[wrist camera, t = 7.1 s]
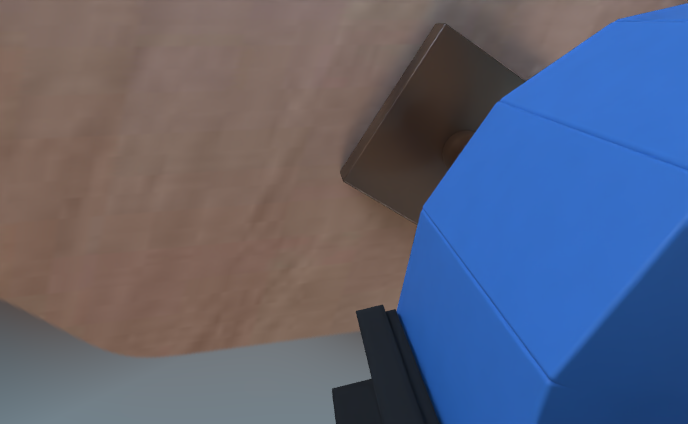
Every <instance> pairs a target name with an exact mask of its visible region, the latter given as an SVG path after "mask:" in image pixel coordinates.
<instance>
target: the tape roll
mask: <svg viewBox="0 0 688 424" xmlns="http://www.w3.org/2000/svg"><path fill="white" fill-rule="evenodd" d="M397 314H398V317H399V319H400V322H401V325H402V327H403V330H404V332H405V335H406V338H407V340H408V343H409V345H410V348H411V351H412V353H413V356H414V358H415V361H416V364H417V366H418V369H419V371H420V374H421V377H422V379H423V382H424V384H425V387H426V390H427V392H428V395H429V397H430V400H431V403H432V405H433V408H434V410H435V413H436V416H437V418H438V421H439V423H440V424H688V3H687V4H682V5H678V6H674V7H669V8H665V9H661V10H656V11H652V12H648V13H643V14H639V15H635V16H630V17H626V18H622V19H618V20H616V21H615V22H613V23H610V24H609V25H608V26H606V27H605V28H603V29H602V30H600V31H599V32H597V33H596V34H594V35H593V36H592V37H590V38H589V39H587V40H586V41H584V42H583V43H581V44H580V45H578V46H577V47H576V48H574V49H573V50H571V51H570V52H568V53H567V54H565V55H564V56H562V57H561V58H560V59H558V60H557V61H555V62H554V63H552V64H551V65H549V66H548V67H546V68H545V69H544V70H542V71H541V72H539V73H538V74H536V75H535V76H533V77H532V78H530V79H529V80H528V81H526V82H525V83H523V84H522V85H520V86H519V87H517V88H516V89H514V90H513V91H512V92H510V93H509V94H507V95H506V96H504V97H503V98H502V99H501V100H500V102H499V101H498V102H497V103H496V104H495V105H494V107H493V108H492V109H491V111H490V112H489V114H488V115H487V117H486V118H485V119H484V121H483V122H482V124H481V125H480V126H479V128H478V129H477V131H476V132H475V133H474V135H473V136H472V138H471V139H470V141H469V142H468V143H467V145H466V146H465V148H464V149H463V150H462V152H461V153H460V155H459V156H458V157H457V159H456V160H455V162H454V163H453V165H452V166H451V167H450V169H449V170H448V172H447V173H446V174H445V176H444V177H443V179H442V180H441V181H440V183H439V184H438V186H437V187H436V188H435V190H434V191H433V193H432V194H431V196H430V197H429V198H428V200H427V201H426V203H425V204H424V205H423V209H422V211H421V213H420V217H419V221H418V225H417V230H416V234H415V238H414V242H413V246H412V250H411V254H410V258H409V263H408V267H407V271H406V275H405V279H404V283H403V287H402V291H401V296H400V300H399V304H398V308H397Z"/></svg>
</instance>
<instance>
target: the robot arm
mask: <svg viewBox="0 0 688 424" xmlns="http://www.w3.org/2000/svg"><path fill="white" fill-rule="evenodd" d="M356 314H357V318H358V322H359V327H360V331H361V335H362V339H363V344H364V348H365V352H366V356H367V360H368V365H369V368H370V373H371V377H372V379H369V380H365V381H361V382H357V383H353V384H349V385H345V386H341V387H337V388H333V389H332V393H333V403H334V411H335V419H336V424H440V423H439V421H438V418H437V416H436V413H435V410H434V408H433V405H432V403H431V400H430V397H429V395H428V392H427V390H426V387H425V384H424V382H423V379H422V377H421V374H420V371H419V369H418V366H417V364H416V361H415V358H414V356H413V353H412V351H411V348H410V345H409V343H408V340H407V338H406V335H405V332H404V330H403V327H402V325H401V322H400V319H399V317H398V314H397V312H396V310H395V309H394V310H390V311H386V312H385V309H384V306H383V305H379V306H375V307H371V308H367V309H363V310H358V311H356Z"/></svg>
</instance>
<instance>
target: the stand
mask: <svg viewBox="0 0 688 424" xmlns="http://www.w3.org/2000/svg"><path fill="white" fill-rule="evenodd" d="M525 82H526V81H524V80H523V79H521V78H520V77H519V76H517V75H516V74H515V73H513V72H512V71H510V70H509V69H508V68H506V67H505V66H504V65H502V64H501V63H499V62H498V61H497V60H495V59H494V58H493V57H491V56H490V55H488V54H487V53H486V52H484V51H483V50H482V49H480V48H479V47H477V46H476V45H475V44H473V43H472V42H471V41H469V40H468V39H466V38H465V37H464V36H462V35H461V34H460V33H458V32H457V31H455V30H454V29H453V28H451V27H450V26H449V25H447V24H435V26H434V27H433V29H432V30H431V32H430V34H429V35H428V37H427V38H426V40H425V41H424V43H423V44H422V46H421V47H420V49H419V51H418V52H417V54H416V55H415V57H414V58H413V60H412V61H411V63H410V65H409V66H408V68H407V69H406V71H405V72H404V74H403V75H402V77H401V78H400V80H399V82H398V83H397V85H396V86H395V88H394V89H393V91H392V92H391V94H390V95H389V97H388V99H387V100H386V102H385V103H384V105H383V106H382V108H381V109H380V111H379V112H378V114H377V116H376V117H375V119H374V120H373V122H372V123H371V125H370V126H369V128H368V129H367V131H366V133H365V134H364V136H363V137H362V139H361V140H360V142H359V143H358V145H357V147H356V148H355V150H354V151H353V153H352V154H351V156H350V157H349V159H348V160H347V162H346V164H345V165H344V167H343V168H342V170H341V171H340V174H341V177H342V179H343V181H344V182H345V183H347V184H349V185H350V186H352V187H354V188H355V189H357V190H359V191H360V192H362V193H364V194H366V195H367V196H369V197H371V198H372V199H374V200H376V201H377V202H379V203H381V204H383V205H384V206H386V207H388V208H389V209H391V210H393V211H394V212H396V213H398V214H399V215H401V216H403V217H405V218H406V219H408V220H410V221H411V222H413V223H415V224H416V225H418V221H419V217H420V213H421V211H422V209H423V205H424V204H425V203H426V201H427V200H428V198H429V197H430V196H431V194H432V193H433V191H434V190H435V188H436V187H437V186H438V184H439V183H440V181H441V180H442V179H443V177H444V176H445V174H446V173H447V172H448V170H449V169H450V167H451V166H452V165H453V163H454V162H455V160H456V159H457V157H458V156H459V155H460V153H461V152H462V150H463V149H464V148H465V146H466V145H467V143H468V142H469V141H470V139H471V138H472V136H473V135H474V133H475V132H476V131H477V129H478V128H479V126H480V125H481V124H482V122H483V121H484V119H485V118H486V117H487V115H488V114H489V112H490V111H491V109H492V108H493V107H494V105H495V104H496V103H497V102H498V101H499V102H500V100H501V99H502V98H503V97H504V96H506V95H507V94H509V93H510V92H512V91H513V90H514V89H516V88H517V87H519V86H520V85H522V84H523V83H525Z"/></svg>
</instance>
